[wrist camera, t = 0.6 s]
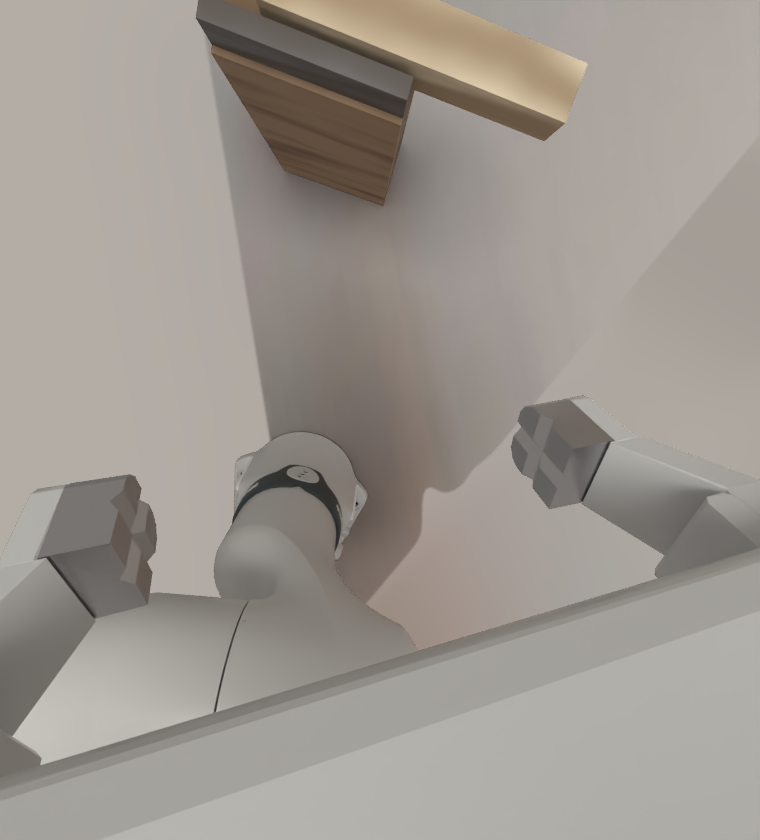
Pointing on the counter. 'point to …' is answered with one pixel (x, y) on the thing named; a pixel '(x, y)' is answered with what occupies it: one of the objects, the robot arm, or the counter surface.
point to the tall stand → (312, 98)
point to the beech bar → (448, 56)
